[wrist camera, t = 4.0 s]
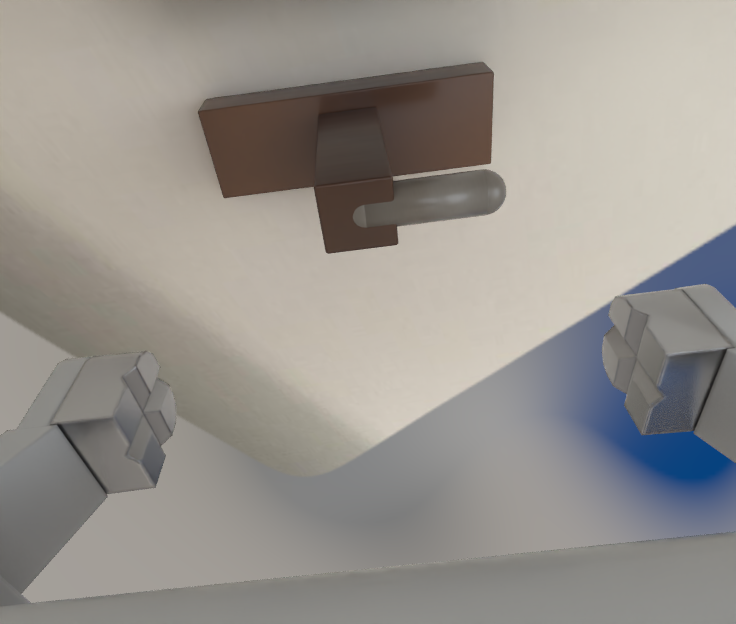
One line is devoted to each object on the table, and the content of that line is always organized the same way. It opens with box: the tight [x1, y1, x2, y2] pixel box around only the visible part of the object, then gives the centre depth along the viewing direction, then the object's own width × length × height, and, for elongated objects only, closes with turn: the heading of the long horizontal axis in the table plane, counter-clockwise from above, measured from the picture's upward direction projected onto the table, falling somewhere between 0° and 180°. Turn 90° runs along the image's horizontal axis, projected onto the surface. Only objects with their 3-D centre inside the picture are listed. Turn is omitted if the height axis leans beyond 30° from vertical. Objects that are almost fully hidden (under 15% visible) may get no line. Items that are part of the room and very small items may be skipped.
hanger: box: [198, 62, 506, 254], centre depth 17 cm, size 10×3×8 cm, turn 97°
